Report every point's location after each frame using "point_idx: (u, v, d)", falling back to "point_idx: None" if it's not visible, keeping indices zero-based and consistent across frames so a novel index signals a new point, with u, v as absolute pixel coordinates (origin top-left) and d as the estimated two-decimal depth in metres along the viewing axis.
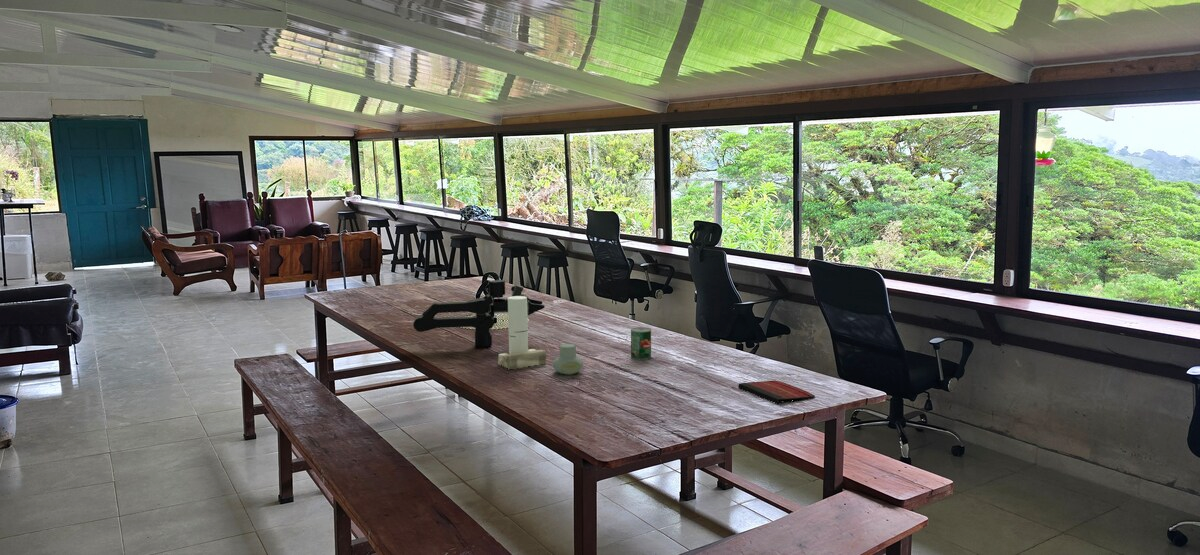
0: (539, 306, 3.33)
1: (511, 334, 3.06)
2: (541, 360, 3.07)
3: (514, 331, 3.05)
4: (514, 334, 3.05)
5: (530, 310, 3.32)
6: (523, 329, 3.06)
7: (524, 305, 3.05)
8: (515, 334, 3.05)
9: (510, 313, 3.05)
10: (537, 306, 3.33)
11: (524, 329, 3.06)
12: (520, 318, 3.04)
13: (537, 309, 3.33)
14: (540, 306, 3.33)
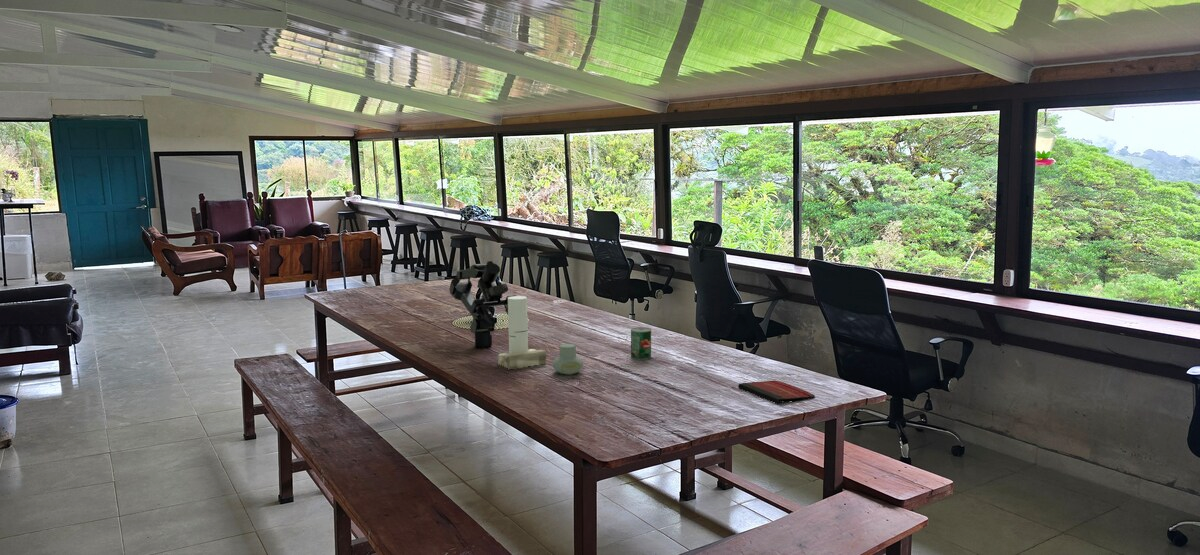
0: (487, 318, 3.18)
1: (511, 334, 3.06)
2: (541, 360, 3.07)
3: (514, 331, 3.05)
4: (514, 334, 3.05)
5: (481, 312, 3.20)
6: (523, 329, 3.06)
7: (524, 305, 3.05)
8: (515, 334, 3.05)
9: (510, 313, 3.05)
10: (486, 316, 3.18)
11: (524, 329, 3.06)
12: (520, 318, 3.04)
13: (485, 318, 3.19)
14: (488, 319, 3.18)
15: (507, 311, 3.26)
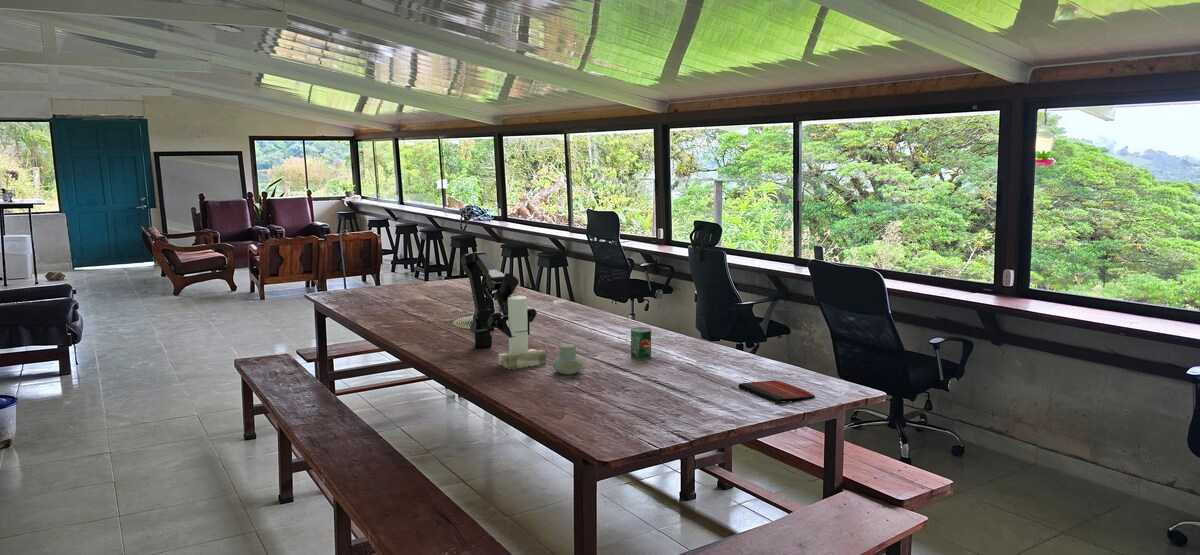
0: (507, 332, 3.06)
1: (511, 334, 3.06)
2: (541, 360, 3.07)
3: (514, 331, 3.05)
4: (514, 334, 3.05)
5: (500, 326, 3.08)
6: (523, 329, 3.06)
7: (524, 305, 3.05)
8: (515, 334, 3.05)
9: (510, 313, 3.05)
10: (505, 330, 3.06)
11: (524, 329, 3.06)
12: (520, 318, 3.04)
13: (504, 332, 3.07)
14: (507, 333, 3.06)
15: None
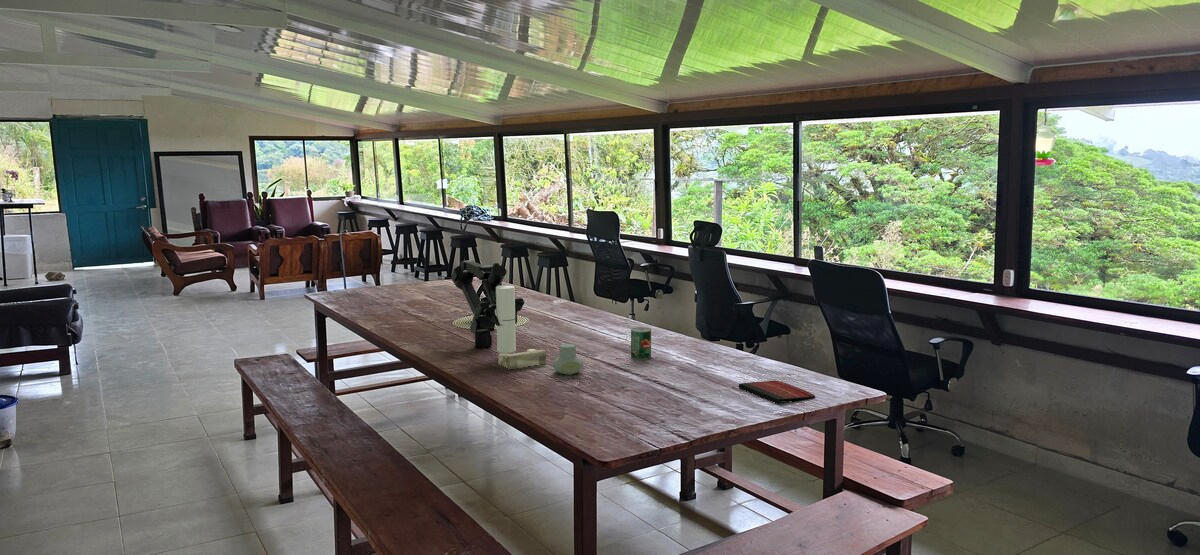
0: (495, 320, 3.14)
1: (499, 322, 3.14)
2: (541, 360, 3.07)
3: (502, 319, 3.13)
4: (502, 322, 3.13)
5: (489, 315, 3.16)
6: (511, 318, 3.14)
7: (512, 295, 3.13)
8: (503, 322, 3.13)
9: (498, 302, 3.13)
10: (493, 319, 3.14)
11: (512, 318, 3.14)
12: (508, 307, 3.12)
13: (493, 320, 3.15)
14: (495, 321, 3.14)
15: None
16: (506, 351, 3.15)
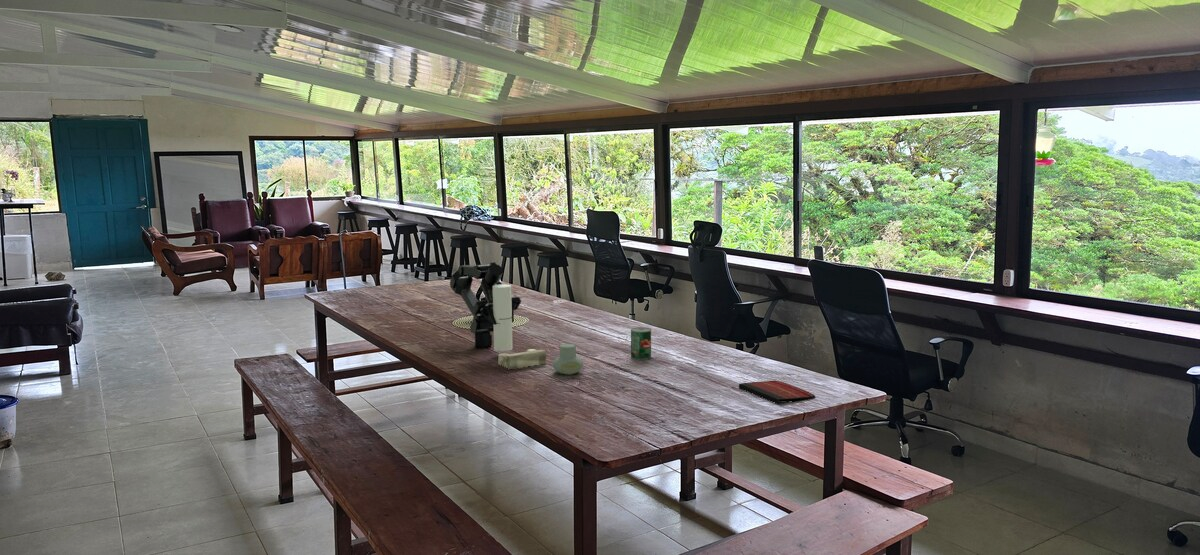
0: (491, 319, 3.16)
1: (496, 321, 3.16)
2: (541, 360, 3.07)
3: (498, 318, 3.15)
4: (498, 321, 3.16)
5: (485, 314, 3.19)
6: (507, 316, 3.16)
7: (508, 293, 3.15)
8: (499, 321, 3.15)
9: (495, 301, 3.15)
10: (490, 317, 3.17)
11: (508, 316, 3.16)
12: (504, 305, 3.15)
13: (489, 319, 3.17)
14: (492, 320, 3.16)
15: None
16: (503, 349, 3.17)
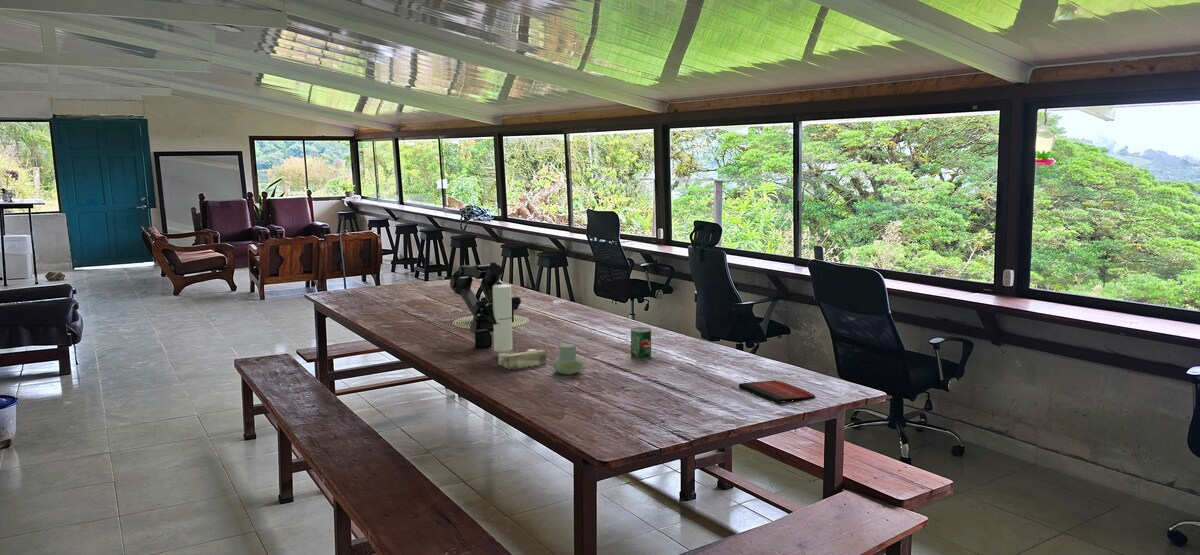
0: (491, 319, 3.16)
1: (496, 321, 3.16)
2: (541, 360, 3.07)
3: (498, 318, 3.15)
4: (498, 321, 3.16)
5: (485, 314, 3.19)
6: (507, 316, 3.16)
7: (508, 293, 3.15)
8: (499, 321, 3.15)
9: (495, 301, 3.15)
10: (490, 317, 3.17)
11: (508, 316, 3.16)
12: (504, 305, 3.15)
13: (489, 319, 3.17)
14: (492, 320, 3.16)
15: None
16: (503, 349, 3.17)
